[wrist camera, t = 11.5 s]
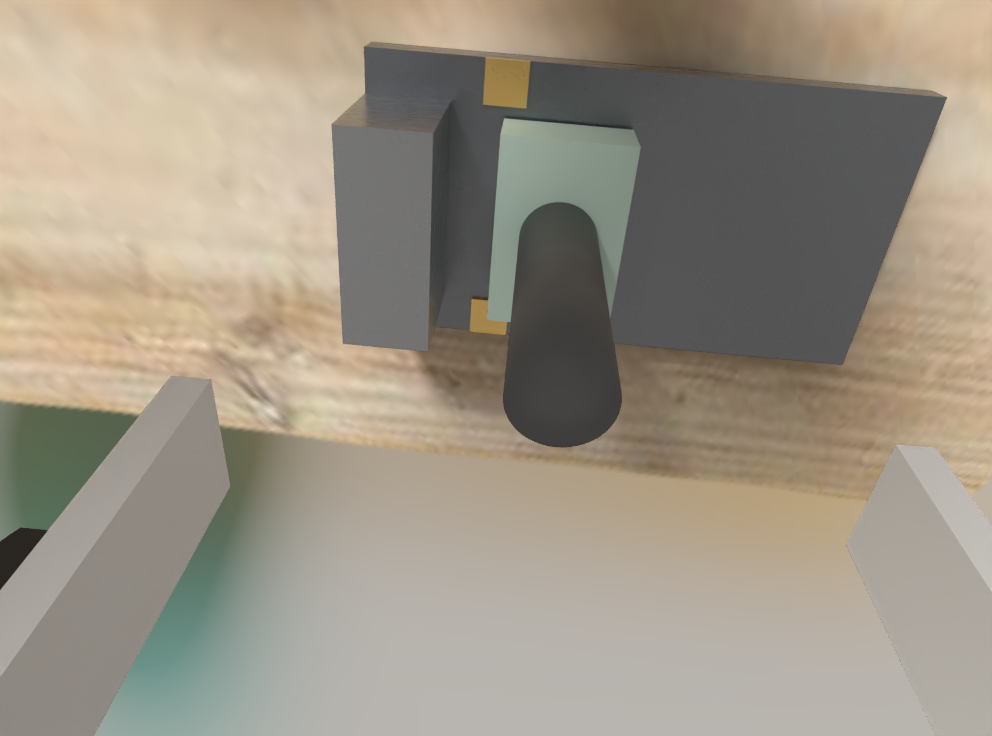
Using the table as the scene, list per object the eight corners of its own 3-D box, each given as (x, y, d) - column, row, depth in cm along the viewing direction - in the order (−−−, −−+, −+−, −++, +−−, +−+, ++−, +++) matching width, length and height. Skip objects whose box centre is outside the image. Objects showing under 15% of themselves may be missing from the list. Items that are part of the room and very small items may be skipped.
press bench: (376, 308, 41) (344, 379, 34) (371, 41, 33) (329, 69, 27) (832, 350, 40) (886, 430, 34) (931, 90, 33) (1023, 130, 26)
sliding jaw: (491, 293, 38) (457, 500, 24) (503, 118, 33) (472, 254, 19) (603, 303, 38) (634, 518, 24) (633, 129, 33) (692, 274, 19)
